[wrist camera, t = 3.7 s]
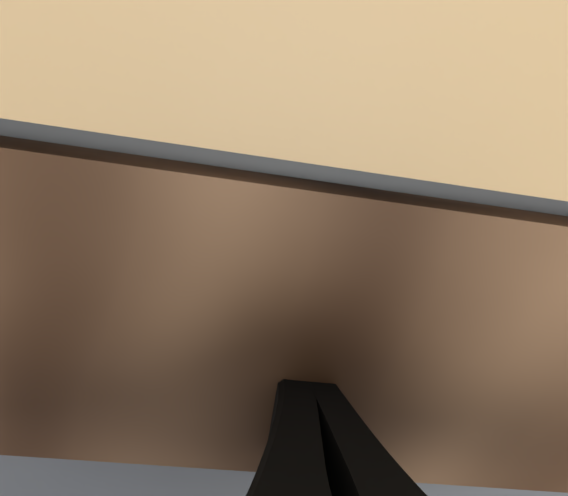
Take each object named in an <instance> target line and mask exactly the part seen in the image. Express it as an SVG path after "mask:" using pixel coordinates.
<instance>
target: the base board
mask: <svg viewBox="0 0 568 496" xmlns="http://www.w3.org/2000/svg"><path fill="white" fill-rule="evenodd" d="M0 135H1V136H8V137H15V138H22V139H29V140H36V141H43V142H50V143H57V144H64V145H71V146H78V147H85V148H92V149H99V150H106V151H113V152H120V153H127V154H134V155H141V156H148V157H155V158H162V159H169V160H176V161H183V162H190V163H197V164H204V165H211V166H218V167H225V168H232V169H239V170H246V171H253V172H260V173H267V174H274V175H281V176H288V177H295V178H302V179H309V180H316V181H323V182H330V183H337V184H344V185H351V186H358V187H365V188H372V189H379V190H386V191H393V192H400V193H407V194H414V195H421V196H428V197H435V198H442V199H449V200H456V201H463V202H470V203H477V204H484V205H491V206H498V207H505V208H512V209H519V210H526V211H533V212H540V213H547V214H554V215H561V216H568V0H0ZM255 473H256V472H248V471H233V470H218V469H203V468H188V467H173V466H158V465H143V464H128V463H113V462H98V461H83V460H68V459H53V458H38V457H23V456H8V455H0V496H246V494H247V492H248V490H249V487H250V485H251V483H252V480H253V478H254V476H255ZM416 484H417V485H418V486H419V487H420V488H421V490H422V491H423V492H424V493H425V494H426V495H427V496H568V493H562V492H547V491H532V490H517V489H502V488H487V487H472V486H457V485H442V484H427V483H416Z"/></svg>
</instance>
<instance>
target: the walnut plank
mask: <svg viewBox="0 0 568 496" xmlns="http://www.w3.org/2000/svg"><path fill="white" fill-rule="evenodd" d="M283 379H287V380H298V381H309V382H320V383H332V384H336V385H337V386H338V388H339V389H340V390H341V392H342V393H343V394H344V396H345V397H346V398H347V400H348V401H349V402H350V404H351V405H352V406H353V408H354V409H355V410H356V412H357V413H358V414H359V416H360V417H361V418H362V420H363V421H364V422H365V424H366V425H367V426H368V428H369V429H370V430H371V431H372V433H373V434H374V435H375V436H376V438H377V439H378V440H379V441H380V443H381V444H382V445H383V446H384V448H385V449H386V450H387V451H388V452H389V454H390V455H391V456H392V457H393V458H394V459H395V461H396V462H397V463H398V464H399V465H400V466H401V467H402V469H403V470H404V471H405V472H406V473H407V474H408V475H409V476H410V477H411V479H412V480H413V481H414V482H415V483H427V484H442V485H457V486H472V487H487V488H502V489H517V490H532V491H547V492H562V493H568V216H561V215H554V214H547V213H540V212H533V211H526V210H519V209H512V208H505V207H498V206H491V205H484V204H477V203H470V202H463V201H456V200H449V199H442V198H435V197H428V196H421V195H414V194H407V193H400V192H393V191H386V190H379V189H372V188H365V187H358V186H351V185H344V184H337V183H330V182H323V181H316V180H309V179H302V178H295V177H288V176H281V175H274V174H267V173H260V172H253V171H246V170H239V169H232V168H225V167H218V166H211V165H204V164H197V163H190V162H183V161H176V160H169V159H162V158H155V157H148V156H141V155H134V154H127V153H120V152H113V151H106V150H99V149H92V148H85V147H78V146H71V145H64V144H57V143H50V142H43V141H36V140H29V139H22V138H15V137H8V136H1V135H0V455H8V456H23V457H38V458H53V459H68V460H83V461H98V462H113V463H128V464H143V465H158V466H173V467H188V468H203V469H218V470H233V471H248V472H256V471H257V468H258V466H259V463H260V460H261V458H262V455H263V452H264V450H265V447H266V444H267V441H268V436H269V431H270V425H271V419H272V413H273V407H274V402H275V396H276V390H277V384H278V382H280V381H281V380H283Z"/></svg>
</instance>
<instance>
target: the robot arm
mask: <svg viewBox="0 0 568 496" xmlns="http://www.w3.org/2000/svg"><path fill="white" fill-rule="evenodd" d="M246 496H427V495H426V494H425V493H424V492H423V491H422V490H421V488H420V487H419V486H418V485H417V484H416V483H415V482H414V481H413V480H412V479H411V477H410V476H409V475H408V474H407V473H406V472H405V471H404V470H403V469H402V467H401V466H400V465H399V464H398V463H397V462H396V461H395V459H394V458H393V457H392V456H391V455H390V454H389V452H388V451H387V450H386V449H385V448H384V446H383V445H382V444H381V443H380V441H379V440H378V439H377V438H376V436H375V435H374V434H373V433H372V431H371V430H370V429H369V428H368V426H367V425H366V424H365V422H364V421H363V420H362V418H361V417H360V416H359V414H358V413H357V412H356V410H355V409H354V408H353V406H352V405H351V404H350V402H349V401H348V400H347V398H346V397H345V396H344V394H343V393H342V392H341V390H340V389H339V388H338V386H337V385H336V384H332V383H320V382H309V381H298V380H287V379H283V380H281V381H280V382H278V384H277V390H276V396H275V402H274V407H273V413H272V419H271V425H270V431H269V436H268V441H267V444H266V447H265V450H264V452H263V455H262V458H261V460H260V463H259V466H258V468H257V471H256V473H255V476H254V478H253V480H252V483H251V485H250V487H249V490H248V492H247V494H246Z"/></svg>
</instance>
